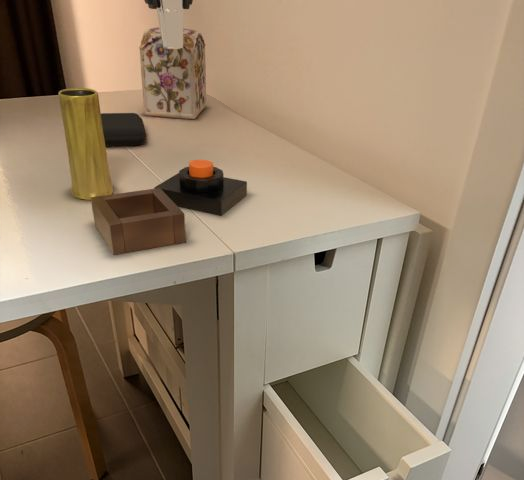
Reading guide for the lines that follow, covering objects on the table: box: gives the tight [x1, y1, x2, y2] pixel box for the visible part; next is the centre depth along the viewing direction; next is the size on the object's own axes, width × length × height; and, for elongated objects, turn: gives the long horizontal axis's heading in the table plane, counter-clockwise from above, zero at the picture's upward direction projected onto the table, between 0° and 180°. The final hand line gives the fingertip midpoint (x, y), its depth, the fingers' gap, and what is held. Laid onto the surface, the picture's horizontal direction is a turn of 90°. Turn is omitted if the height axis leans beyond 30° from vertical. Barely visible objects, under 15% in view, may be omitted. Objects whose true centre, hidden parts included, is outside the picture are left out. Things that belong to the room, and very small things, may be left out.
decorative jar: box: [138, 26, 207, 120], centre depth 120 cm, size 12×12×18 cm
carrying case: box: [101, 112, 148, 147], centre depth 107 cm, size 11×3×15 cm
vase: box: [58, 87, 114, 201], centre depth 80 cm, size 6×6×14 cm
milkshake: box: [156, 0, 184, 49], centre depth 85 cm, size 4×5×10 cm
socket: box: [90, 188, 186, 256], centre depth 72 cm, size 10×10×4 cm
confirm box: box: [153, 166, 248, 216], centre depth 83 cm, size 11×9×4 cm
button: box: [188, 159, 214, 178], centre depth 82 cm, size 4×4×2 cm
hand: (169, 7), depth 84 cm, fingers closed on milkshake, 4 cm apart
